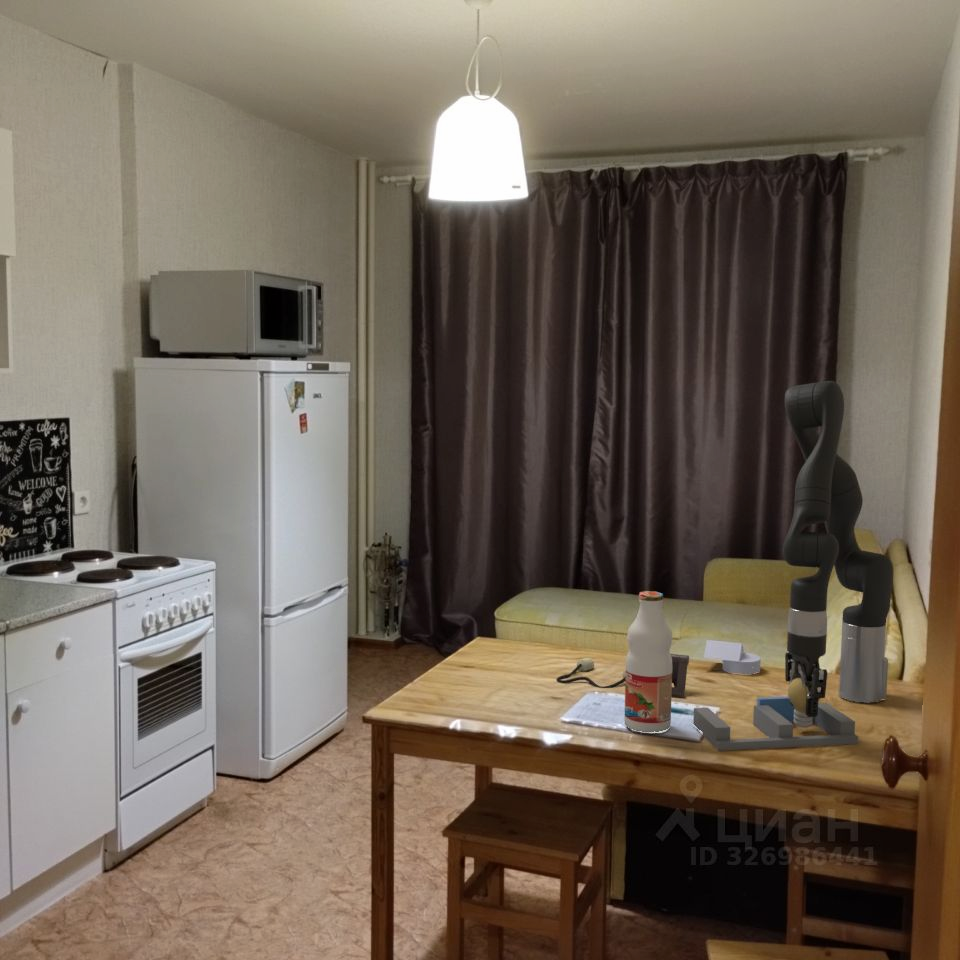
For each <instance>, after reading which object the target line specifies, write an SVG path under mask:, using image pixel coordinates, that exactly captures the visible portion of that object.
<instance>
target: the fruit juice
mask: <svg viewBox="0 0 960 960" xmlns="http://www.w3.org/2000/svg"><path fill="white" fill-rule="evenodd" d="M663 601H664V593H661V592H658V591H654V590H652V591H651V590H645V591H640V592H639V594H638V602H639V608H638V612H637V616H635V619H634V621H633V622H632V623H631V625H629V627H628V630H627V636H626V637H627V638H626V639H627V643H628V649H629V650H628V652H627V654H626V659H625V670H626V679H625V681H624V682H625V683H624V684H625V685H624V686H625V687H624V721H623V722H624V725H626V726H627V727H629V728H630V729H633V730H636V731H642V732H654V731H655V732H659V731H663V730H666V729H668V728H669V727H670V728H671V724H672V723H671V721H672V696H671V695H672V687H673V683H672V657H671V655H670V654H671V652H670V651H671V646H672V643H673V632H672V629H671V628H670V626H669V624H668V623H667V621H666V620H665V617H664V613H663V608H662V603H663ZM626 726H625V727H626ZM627 727H626V728H627ZM670 728H669V729H670Z"/></svg>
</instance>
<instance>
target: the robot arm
mask: <svg viewBox="0 0 960 960" xmlns="http://www.w3.org/2000/svg"><path fill="white" fill-rule="evenodd" d="M844 399H845V398H844V394H843V390H842V388H841V386H840V384H838V382H835V381H834V380H827V381H819V382H812V383H811V382H810V383H805V384H799V385H798V384H797V385H793V386H791V387H789V388H788V389H787V390H786V391H785V394H784V408H785V413H786V415H787V420H788V422H789V425H790V427H791V429H792V432H793V434H794V437H795V440H796V441H797V444H798V446H799V448H800V451H801V453H802V455H803V458H804V461H805V462H804V464H803V465H802V467H801V468H800V470H799V472H798V475H797V478H796V481H795V488H794V502H793V503H794V507H793V515H792V519H791V522H790V525H789V526H790V527H789V528H788V532H787V534H786V537H785V539H784V542H783V546H782V557H783V559H784V561H785V562H786V563H787V564H788V565H789V566H793V567H800V568H801V567H802V568H804V567H805V568H817V569H818V570H817V571H816V572H815V574H813V575H809V576H803V577H798V578H794V579H792V581H791V584H790V596H789V597H790V599H789V612H788V618H787V637H786V651H787V652H785V653H784V657H785V658H784V659H785V662H784V664H785V666H784V667H785V669H784V670H785V671H784V672H785V674H784V675H785V682H788V686H789V685H790V683H791V682H792V681H793V680H794V679H796V678H801V681H802V686H803V687H804V688H805V690H806V696H807V698H806V715H807V716H808V717H816V716H817V715H818V703H819V702H818V699H819V698H820V699H826V691H827V681H828V680H827V679H828V670H827V669H822V668H821V667H820V666H821V665H820V660H819V659H820V658H821V657H823V656H825V655H826V654H827V653H826V652H827V637H828V636H827V634H828V633H827V632H828V616H827V607H828V606H827V605H828V591H829V590H828V589H829V583H830V578H831V575H832V572H833V569H834V570H835V574H836V577H837V580H838V582H839V583H840V585H841V586H842V587H843V588H845V589H847V590H849V591H854V592H859V593H862V597H861V601H860V603H859V604H855V605H851V606H850V605H849V606H846V607H845V608H843V611H842V623H841V624H842V625H841V638H840V639H841V641H840V642H841V645H840V662H839V681H838V682H839V684H838V696H839V697H842V699H843V698H844V700H846V699H847V700H846V701H850V702H853V701H855V702H854V703H859V702H864V703H863V704H871V703H870V702H877V701H880V700H881V699H886V700H887V689H888V671H889V659H888V658H887V657H885V653H886V651H885V650H886V636H887V635H886V634H887V619H888V615H889V612H890V608H891V600H892V599H891V598H892V590H893V582H894V567H893V566H894V565H893V563H892V560H891V559H890V558H889V556H887V555H886V554H883V553H878V552H872V551H869V550H868V551H867V550H862V549H861V548H860V546H859V544H858V541H857V538H856V535H855V534H856V533H855V526H856V523H857V521H858V519H859V516H860V515H861V511H862V508H863V503H864V500H863V493H862V491H861V488H860V487H861V486H860V484H859V480H858V478H857V474H856V472H855V470H854V469H853V467H851V465H850V464H849V463H848V462H847V461H845V459H843V458H842V457H841V456H840V455H838V454H837V451H838V447H839V443H840V437H841V432H842V426H843V420H844V414H845V400H844ZM818 427H819V428H820V427H821V429H820V434H819V432H818V430H817V428H818ZM822 523H824V526H825V529H826V532H817V531H803V530H804V529H806V527H809V526H812V525H818V524H822ZM807 681H812V682H811V683H809V682H807ZM810 687H812V688H811V690H810ZM819 687H820V689H819ZM865 702H866V703H865ZM880 702H881V701H880ZM877 703H878V702H877ZM790 704H791V705H793V704H792V703H791V701H790ZM793 706H794V705H793Z"/></svg>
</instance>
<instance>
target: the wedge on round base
mask: <svg viewBox="0 0 960 960" xmlns="http://www.w3.org/2000/svg"><path fill="white" fill-rule="evenodd" d="M703 659H711V660H712V659H713V660H720V661H721V660H722V669H721V670H722V671H723V670H724V671H723V672H725V671H726V672H725V673H727V672H730V673H739V674H740V673H741V674H754V673H756V672H760V673H761V663H762V662H761V660H762V658H761V656H759V655H758V654H754V653H751V652H745V650H744V645H743V643H742V642H733V641H732V642H731V641H722V640H720V641H719V640H710V639H707V640H706V644H705V649H704V654H703ZM752 667H754V668H752ZM759 670H760V671H759ZM730 673H729V674H730Z"/></svg>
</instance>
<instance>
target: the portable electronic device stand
mask: <svg viewBox="0 0 960 960" xmlns="http://www.w3.org/2000/svg"><path fill="white" fill-rule="evenodd" d="M670 655H671V657H672V685H673V686H672V695H671V697H677V698H684V697H685V694H686V683H687V682H686V681H687V674H688V673H687V672H688V671H687V670H688V666H689V664H690V656H689V655H687V654H675V653H670Z"/></svg>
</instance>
